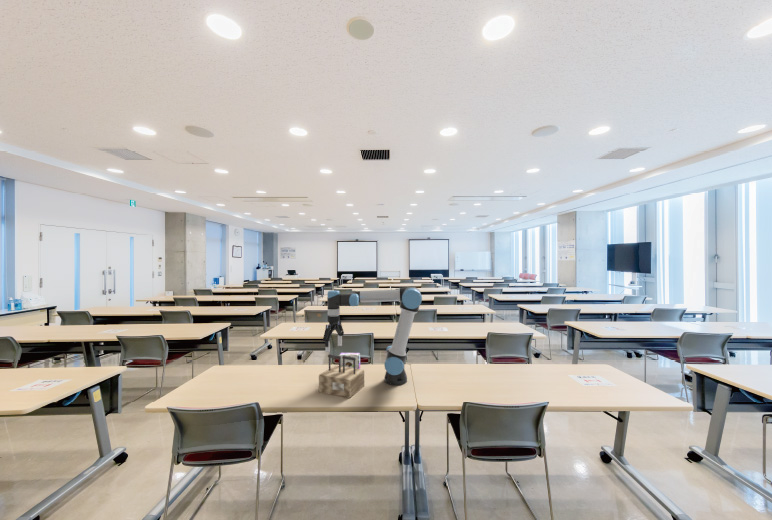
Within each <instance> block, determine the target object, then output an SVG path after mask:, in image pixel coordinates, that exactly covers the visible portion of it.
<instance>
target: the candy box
mask: <svg viewBox="0 0 772 520" xmlns="http://www.w3.org/2000/svg"><path fill="white" fill-rule="evenodd" d="M338 356H341V366H343V359H342V357H343V356H348V357H355V358H356V360H355V368H356V369H361V353H360V352H340V353H339V354H338ZM345 367H350V368H354V365H353V360H347V359H345Z"/></svg>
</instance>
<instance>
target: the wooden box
mask: <svg viewBox="0 0 772 520" xmlns="http://www.w3.org/2000/svg"><path fill="white" fill-rule="evenodd" d="M364 387H365V370H364V371H363V372H362V373H360V374H359V375H357V376H356V377H355V378H353V379H352V380H351V381H345V380H340V379H334V378H329V377H323V376H319V375H318V392H319V393H322V394H323V393H324V394H327V395H332V396H338V397H342V398H348V399H351V398H352V397H353V396H355V395H356V394H357V393H358V392H359V391H361V390H362V389H364Z"/></svg>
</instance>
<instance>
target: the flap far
mask: <svg viewBox="0 0 772 520" xmlns="http://www.w3.org/2000/svg"><path fill="white" fill-rule="evenodd" d="M342 359H343V366H341V372H343V373H349V374H355V375H359V374H360V373H362V372H363V371H364V372H365V369H362V368H360V369H356V368H355V360H356V358H355V357H348V356H343V357H342ZM345 359H347V360H353V365H354V368H350V367H345ZM327 370H329V368H328V369H327ZM331 371H337V372H339V365H336V364H335V365H332V367H331Z"/></svg>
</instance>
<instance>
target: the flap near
mask: <svg viewBox="0 0 772 520" xmlns="http://www.w3.org/2000/svg"><path fill="white" fill-rule="evenodd" d="M327 357H328V369H329V370H328V369H327V370H325V371H323V372H322V373H320V374H319V375H318V377H319V376H323V377H329V378H334V379H340V380H345V381H351V380H352V379H353V378H355V377H356V376H357V375H355V374H349V373H343V372H341V356H339V355H335V354H328V355H327ZM331 359H338V366H339V372H337V371H331Z"/></svg>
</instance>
